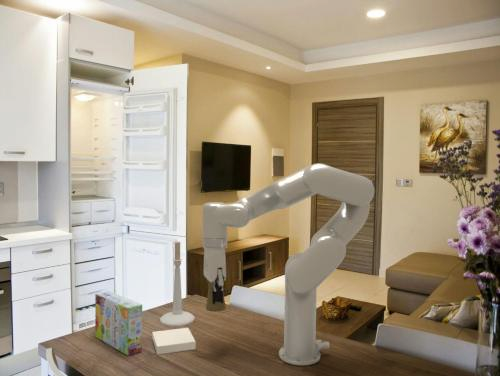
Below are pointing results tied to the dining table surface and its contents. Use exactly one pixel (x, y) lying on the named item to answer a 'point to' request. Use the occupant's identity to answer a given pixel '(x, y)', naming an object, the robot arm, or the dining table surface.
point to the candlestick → (177, 298)
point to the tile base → (173, 340)
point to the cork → (210, 305)
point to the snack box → (118, 322)
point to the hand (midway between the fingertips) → (215, 300)
